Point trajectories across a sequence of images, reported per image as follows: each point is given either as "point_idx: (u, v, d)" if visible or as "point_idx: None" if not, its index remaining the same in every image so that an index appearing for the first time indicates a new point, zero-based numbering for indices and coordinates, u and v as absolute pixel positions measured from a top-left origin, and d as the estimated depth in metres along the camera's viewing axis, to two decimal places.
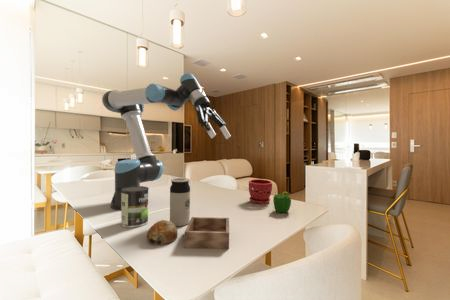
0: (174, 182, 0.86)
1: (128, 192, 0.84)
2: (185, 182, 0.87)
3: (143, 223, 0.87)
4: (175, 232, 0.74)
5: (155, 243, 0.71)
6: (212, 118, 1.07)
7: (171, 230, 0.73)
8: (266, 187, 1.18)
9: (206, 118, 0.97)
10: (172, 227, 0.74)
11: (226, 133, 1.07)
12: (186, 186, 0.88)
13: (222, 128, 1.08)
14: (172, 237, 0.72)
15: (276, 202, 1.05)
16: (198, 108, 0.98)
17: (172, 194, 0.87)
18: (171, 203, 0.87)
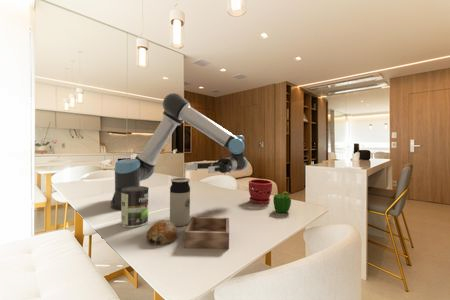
0: (174, 182, 0.86)
1: (128, 192, 0.84)
2: (185, 182, 0.87)
3: (143, 223, 0.87)
4: (175, 232, 0.74)
5: (155, 243, 0.71)
6: (209, 165, 1.08)
7: (171, 230, 0.73)
8: (266, 187, 1.18)
9: None
10: (172, 227, 0.74)
11: (191, 167, 1.03)
12: (186, 186, 0.88)
13: (196, 166, 1.05)
14: (172, 237, 0.72)
15: (276, 202, 1.05)
16: (230, 168, 1.05)
17: (172, 194, 0.87)
18: (171, 203, 0.87)
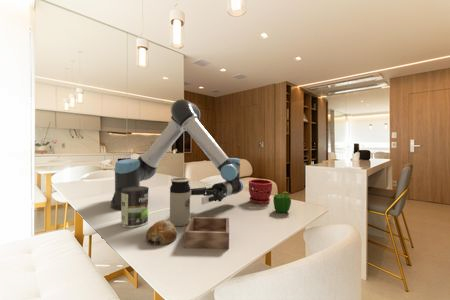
0: (174, 182, 0.86)
1: (128, 192, 0.84)
2: (185, 182, 0.87)
3: (143, 223, 0.87)
4: (174, 233, 0.73)
5: (154, 243, 0.71)
6: (203, 191, 1.05)
7: (170, 230, 0.72)
8: (266, 187, 1.18)
9: None
10: (171, 227, 0.73)
11: None
12: (186, 186, 0.88)
13: None
14: (171, 237, 0.72)
15: (276, 202, 1.05)
16: (224, 195, 1.01)
17: (172, 194, 0.87)
18: (171, 203, 0.87)
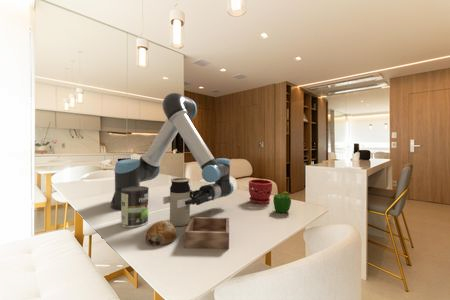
0: (174, 182, 0.86)
1: (128, 192, 0.84)
2: (185, 182, 0.87)
3: (143, 223, 0.87)
4: (174, 233, 0.73)
5: (154, 244, 0.70)
6: (190, 194, 0.97)
7: (170, 231, 0.72)
8: (266, 187, 1.18)
9: None
10: (171, 228, 0.73)
11: (169, 200, 0.90)
12: (186, 186, 0.88)
13: None
14: (171, 238, 0.72)
15: (276, 202, 1.05)
16: (209, 199, 0.94)
17: (172, 194, 0.87)
18: (171, 203, 0.87)
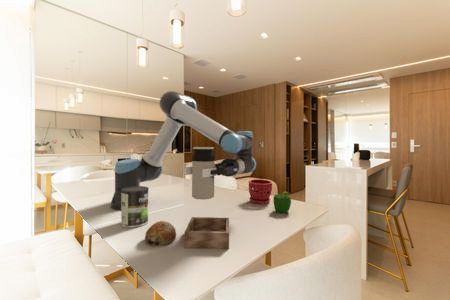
0: (197, 149, 0.76)
1: (128, 192, 0.84)
2: (210, 149, 0.77)
3: (143, 223, 0.87)
4: (173, 233, 0.73)
5: (153, 244, 0.70)
6: None
7: (169, 231, 0.72)
8: (266, 187, 1.18)
9: None
10: (170, 228, 0.73)
11: (191, 171, 0.80)
12: (211, 154, 0.77)
13: None
14: (170, 238, 0.72)
15: (276, 202, 1.05)
16: (235, 171, 0.84)
17: (195, 163, 0.76)
18: (194, 173, 0.77)
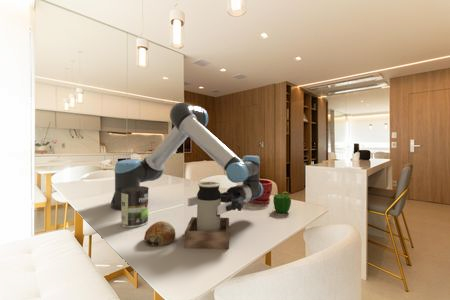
0: (203, 187, 0.72)
1: (128, 192, 0.84)
2: (216, 187, 0.73)
3: (143, 223, 0.87)
4: (173, 233, 0.73)
5: (152, 244, 0.70)
6: None
7: (169, 231, 0.72)
8: (266, 187, 1.18)
9: None
10: (170, 228, 0.73)
11: (194, 202, 0.79)
12: (217, 191, 0.74)
13: None
14: (170, 238, 0.71)
15: (276, 202, 1.05)
16: (244, 202, 0.81)
17: (201, 202, 0.72)
18: (199, 212, 0.73)
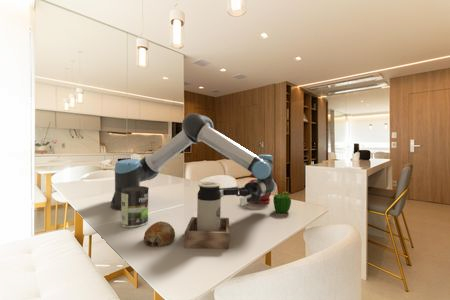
0: (203, 187, 0.72)
1: (128, 192, 0.84)
2: (216, 187, 0.73)
3: (143, 223, 0.87)
4: (172, 234, 0.72)
5: (152, 245, 0.70)
6: (236, 190, 0.94)
7: (168, 232, 0.71)
8: None
9: None
10: (169, 229, 0.72)
11: None
12: (217, 192, 0.74)
13: (221, 193, 0.92)
14: (169, 239, 0.71)
15: (276, 202, 1.05)
16: (261, 196, 0.91)
17: (201, 202, 0.72)
18: (199, 212, 0.73)
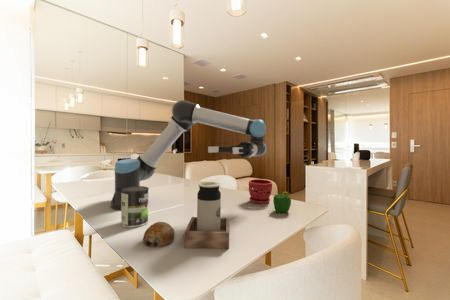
0: (203, 187, 0.72)
1: (128, 192, 0.84)
2: (216, 187, 0.73)
3: (143, 223, 0.87)
4: (172, 234, 0.72)
5: (151, 245, 0.69)
6: (230, 148, 1.05)
7: (168, 232, 0.71)
8: (266, 187, 1.18)
9: None
10: (169, 229, 0.72)
11: (213, 150, 1.00)
12: (217, 192, 0.74)
13: (217, 149, 1.03)
14: (169, 239, 0.71)
15: (276, 202, 1.05)
16: (252, 151, 1.02)
17: (201, 202, 0.72)
18: (199, 212, 0.73)
